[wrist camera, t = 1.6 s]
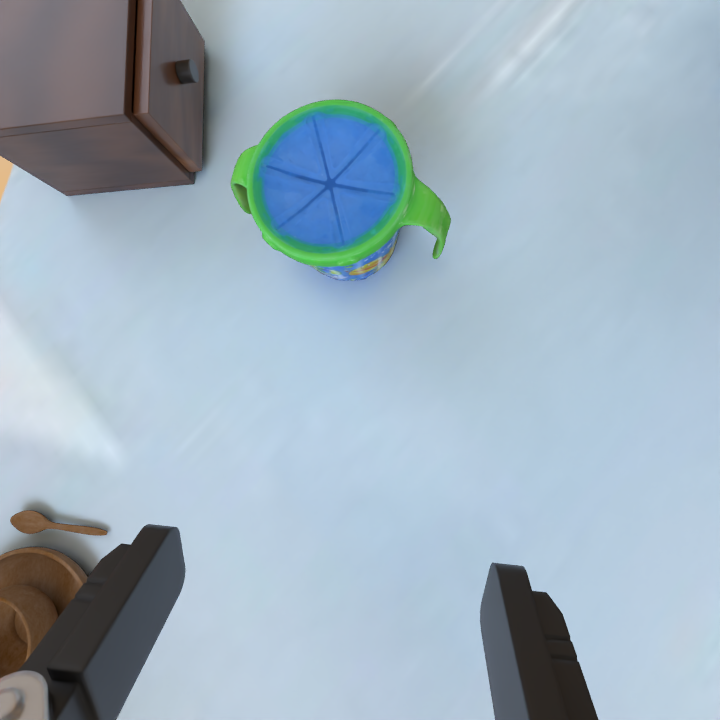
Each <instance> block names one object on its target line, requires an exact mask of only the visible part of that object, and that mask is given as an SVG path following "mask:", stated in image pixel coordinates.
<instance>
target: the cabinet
mask: <svg viewBox="0 0 720 720" xmlns="http://www.w3.org/2000/svg"><path fill="white" fill-rule="evenodd" d="M135 11H136V0H0V156H2V157H3V158H5V159H7V160H8V161H10V162H12V163H13V164H15V165H17V166H18V167H20V168H22V169H23V170H25V171H27V172H28V173H30V174H31V175H33V176H35V177H36V178H38V179H40V180H41V181H43V182H45V183H46V184H48V185H50V186H51V187H53V188H55V189H56V190H58V191H60V192H61V193H63V194H65V195H66V196H71V195H82V194H92V193H103V192H113V191H124V190H134V189H145V188H155V187H166V186H176V185H187V184H194V172H189V171H188V170H187V169H186V168H185V167H184V166H183V165H182V164H181V163H180V162H179V161H178V160H177V159H176V158H175V157H174V156H173V155H172V154H171V153H170V152H169V151H168V150H167V149H166V148H165V147H164V146H163V145H162V144H161V143H160V142H159V141H158V140H157V139H156V138H155V137H154V136H153V135H152V134H151V133H150V131H149V130H148V129H147V128H146V127H145V126H144V125H143V124H142V123H141V122H140V121H139V120H138V119H137V118H136V117H135V116H134V115H133V112H131V108H132V84H133V60H134V36H135Z"/></svg>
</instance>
